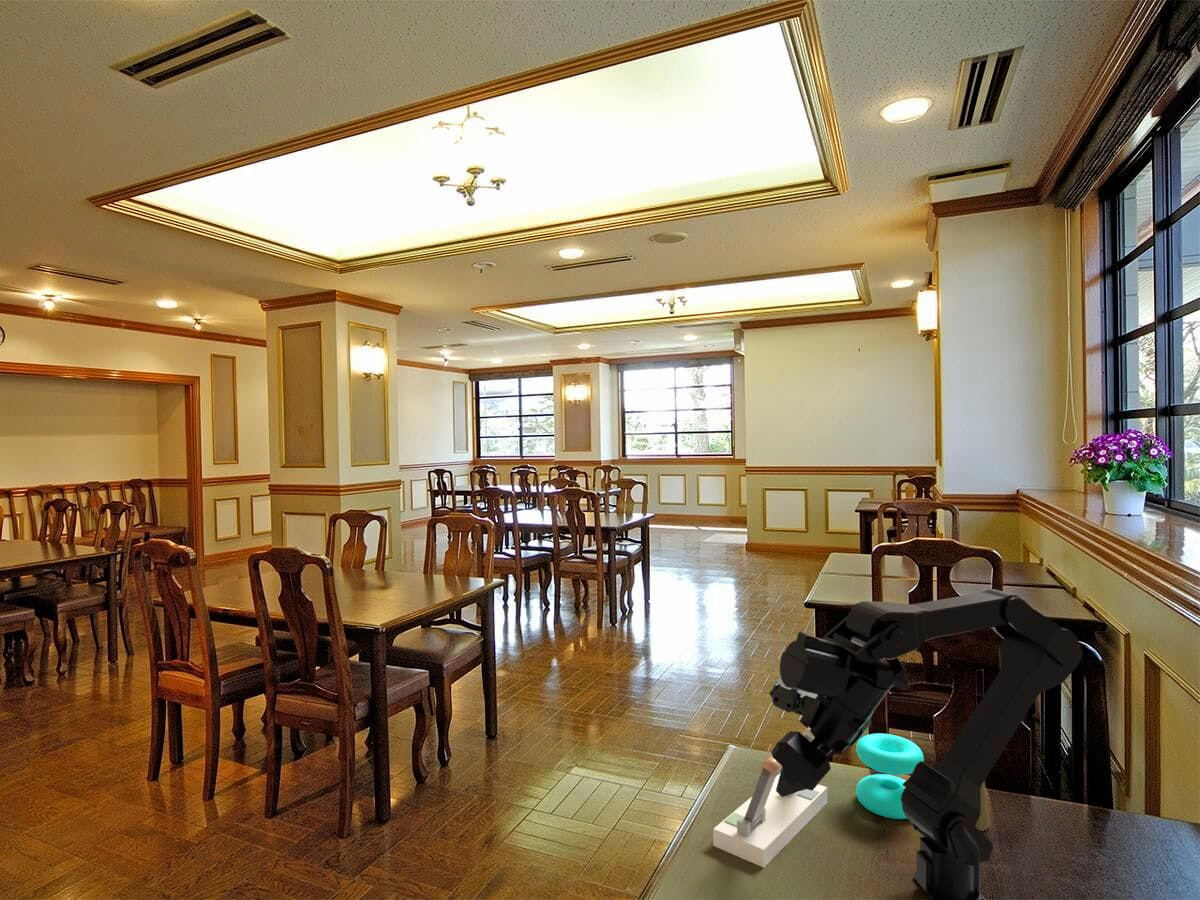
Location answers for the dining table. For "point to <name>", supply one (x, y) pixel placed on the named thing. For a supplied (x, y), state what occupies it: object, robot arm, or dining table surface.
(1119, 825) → the dining table surface
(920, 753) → the teal curved piece
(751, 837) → the switch unit
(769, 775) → the terracotta lever
